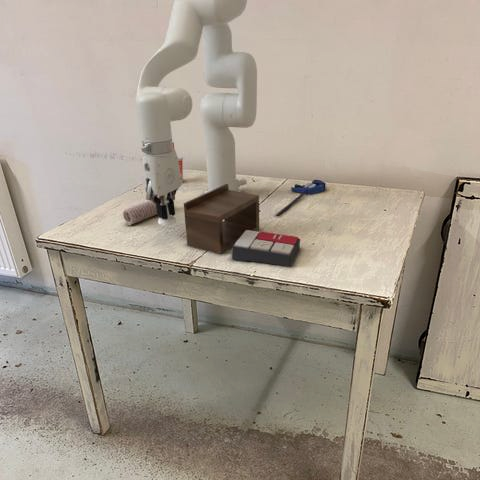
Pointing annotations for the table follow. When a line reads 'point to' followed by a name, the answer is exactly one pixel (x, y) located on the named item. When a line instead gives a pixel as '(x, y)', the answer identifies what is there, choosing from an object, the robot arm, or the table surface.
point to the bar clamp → (306, 191)
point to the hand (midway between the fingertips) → (166, 215)
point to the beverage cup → (180, 164)
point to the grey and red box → (266, 248)
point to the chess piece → (170, 218)
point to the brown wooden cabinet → (220, 218)
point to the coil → (140, 212)
